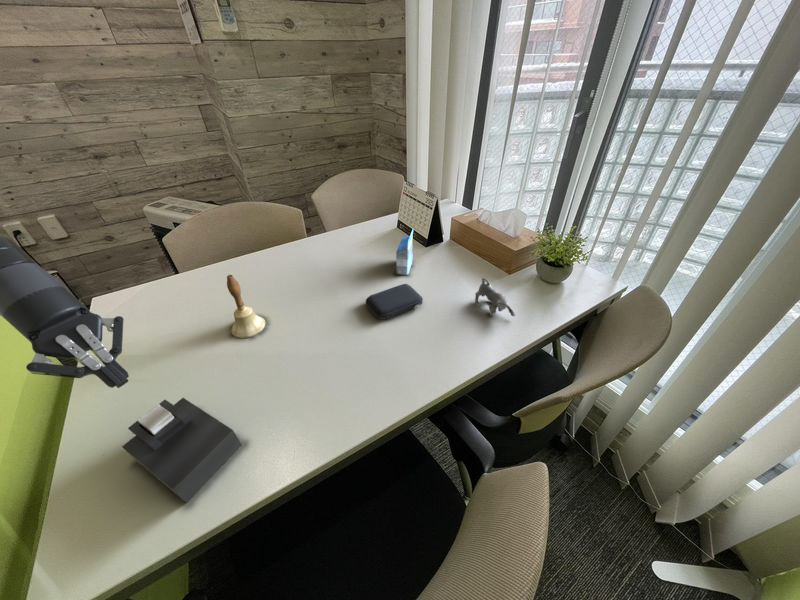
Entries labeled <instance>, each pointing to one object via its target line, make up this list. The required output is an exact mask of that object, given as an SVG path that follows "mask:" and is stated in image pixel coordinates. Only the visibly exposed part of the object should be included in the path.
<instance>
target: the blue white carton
mask: <svg viewBox="0 0 800 600" xmlns="http://www.w3.org/2000/svg"><path fill="white" fill-rule="evenodd" d="M413 234H414V229H412V230H411V232H410V235H407V236H405V237H402V238H401V239H400V242H399V245H398V246H397V250H396V252H395V253H396V254H395V258H396V261H395V262H396V275H401V276H402V275H404V276H408V275H409V272H410V269H411V266H412V265H413Z"/></svg>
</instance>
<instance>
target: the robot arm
mask: <svg viewBox="0 0 800 600" xmlns="http://www.w3.org/2000/svg"><path fill="white" fill-rule="evenodd" d="M0 316H1V317H2V318H3V319H5V321H6V322H7V323H9V325H11V326H12V327H13V328H14V329H15V330H16V331H18V332H19V333H20V334H21V335H22V337H24V338H25V339H26V340H28V342H30V344H31V348H32V350H33V352H34V353H35V354H34V357H33V358H32V360H31V362H29V363H27V364H26V366H25V368H26V370H27V371H28V372H29V373H30V374H32V375H40V376H41V375H42V376H51V377H62V378H71V379H82V378H84V377H87V376H90V375H94V376H96V377H97V378H98V379H100V381H102V383H103V384H105V385H106V386H107V387H108V388H112V389H113V388H115V387H116V388H118V389H120V388H121V387H123V386H124V385H125V384H127V383H129V379H128V378H129V377H130V374H129V372H128V371H127V370H126V369H125V368H124V367H123V366H122V365H120V363H118V362H117V361H116V359H117V358H118V357H119V356H120V355H121V354H122V353H123V338H124V317H123V316H120V315H117V316H115V317H113V318H112V317H102V316H101V315H99V314H97V313H94V312H91V311H90V310H89V309H88V308H87V307H86V306H85V305H83V303H81V301H79V300H78V299H77V298H76V297H75V296H74V295H73V294H72V293H71V292H70V291H69V290H68V289H67V288H66V287H65V286H64V285H63V284H62V283H61V282H60V281H58V279H56V278H55V277H54V276H53V275H52V274H51V273H50V272H48V271H47V270H46V269H44V268H43V267H41V266H40V265H39V264H38V263H37V262H36V261H35V260H33V258H31V256H30V255H29V254H28V253H27V252H25V250H23V249H22V248H21V247H20V246H19V245H18V244H17V243H16V242H15V241H13V240H12V239H10V238H9V237H7V236H4V235H0ZM103 326H104V327H106V330H107V331H108V332H110V333H112V341H111V342H112V343H111V348H110V349H109V350H107V349H106V347H105V346H104V344H102V341H103ZM89 351H91V353H93V355H94V356H95V357H96V358H97V359H98V360H99V361H100V362H101V363H102V364H101V363H100V362H99V361H98V360H96V359H95V358H94V357H92V356H91V355H90V354H89V353H88V352H89ZM47 357H49V358H47ZM50 358H56V359H63V360H73V359H74V360H75V361H76V362H77V363H79V364H81V365H83V366H73V365H63V364H55V363H54V361H53V360H52V359H50Z"/></svg>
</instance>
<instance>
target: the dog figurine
mask: <svg viewBox="0 0 800 600" xmlns="http://www.w3.org/2000/svg"><path fill="white" fill-rule="evenodd" d="M474 295H475V298H474V304H475V305H479V299H480V297H486V298H487V300H488V301H489V302H490V303H491V304H489V305H488V310H489V315H490V316H491V317H494V316H495V315H496V313H497V311H498V312H500V313H501V312H503V310H505V309H507V310H508V312H509V314H510V315H511V316H512V317H515V316H516V314H515V312H514V310H513V309H512V308H511V306H510V305H509V304H508V299H507V297H506V296H505V295H504V294H503V293H501V292H499V291H497V290H495V289H494V288H493V287H492V283H491V282H489V280H488V279H486V277H482V278H481V284H480V285H479V288H478V290H477V291H476V292H475V294H474Z"/></svg>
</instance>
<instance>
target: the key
mask: <svg viewBox="0 0 800 600" xmlns="http://www.w3.org/2000/svg"><path fill="white" fill-rule="evenodd" d="M150 410H151V411H150ZM150 410H148V412H146V413H145V414H144V415H143V416H141V417H140V418H139V419H137V421H138V422H139V423H140V424H141V425H142V426H143V427H144V428H146V429H147V430H148V431H149V432H151V433H152V434H153V435H156V434H157V433H158V432H159V431H160V430H162V429H163V428H164V427H165V426H166V425H167V424H169V423H170V422H171V421H172V420H173V419H175V418H174V417H173V415H172V414H171V413H170V412H169V411H167V410H166V409H164V408H163V407H161V406H160V405H158V404H157V405H155V406H154V407H153V408H152V409H150Z"/></svg>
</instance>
